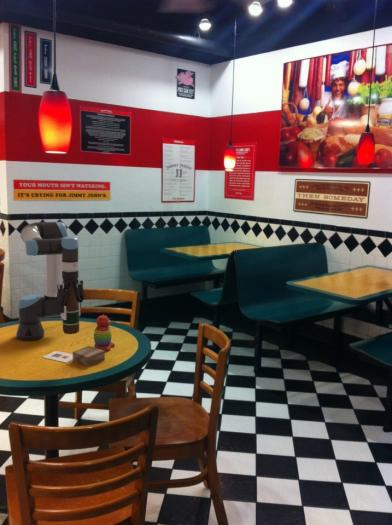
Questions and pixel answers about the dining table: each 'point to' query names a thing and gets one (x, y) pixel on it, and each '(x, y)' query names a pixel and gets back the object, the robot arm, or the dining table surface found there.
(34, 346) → the dining table surface
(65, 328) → the beer bottle
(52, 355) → the page
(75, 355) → the walnut base brick
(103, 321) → the stacking bear
